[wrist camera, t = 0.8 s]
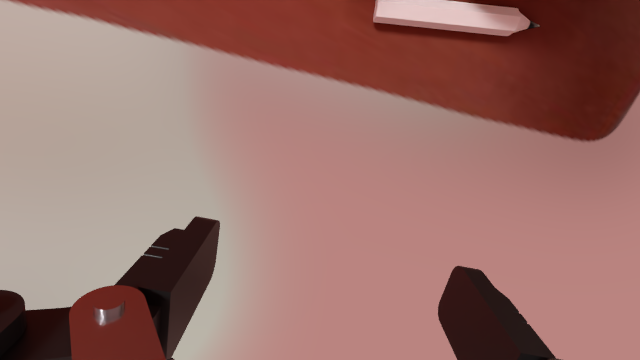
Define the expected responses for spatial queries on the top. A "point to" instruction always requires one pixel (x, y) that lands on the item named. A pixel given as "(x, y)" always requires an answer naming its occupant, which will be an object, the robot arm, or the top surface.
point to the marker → (452, 16)
